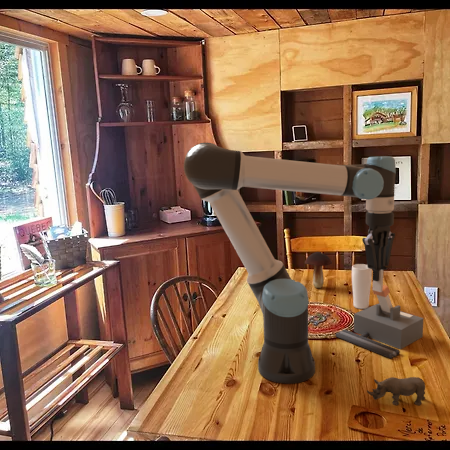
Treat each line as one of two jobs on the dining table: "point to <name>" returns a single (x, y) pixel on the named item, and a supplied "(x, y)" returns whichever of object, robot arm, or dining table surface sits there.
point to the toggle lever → (384, 300)
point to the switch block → (389, 326)
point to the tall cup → (361, 285)
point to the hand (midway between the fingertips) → (377, 290)
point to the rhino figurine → (400, 388)
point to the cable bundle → (368, 343)
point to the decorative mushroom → (318, 267)
